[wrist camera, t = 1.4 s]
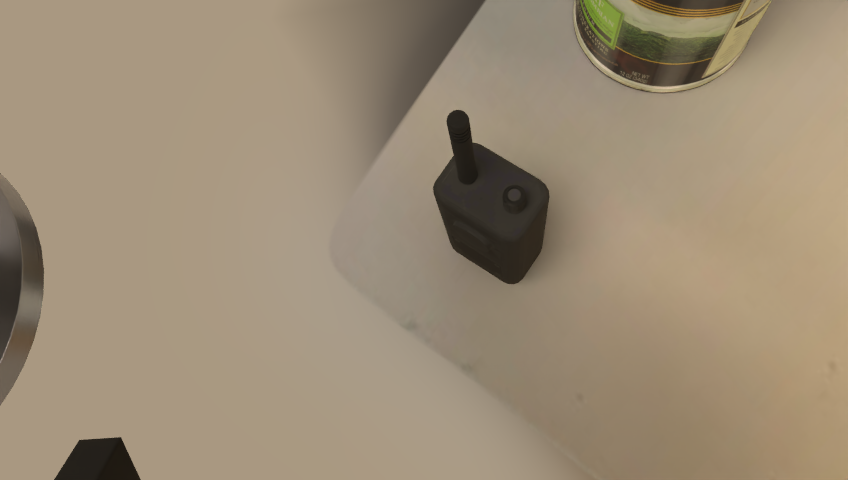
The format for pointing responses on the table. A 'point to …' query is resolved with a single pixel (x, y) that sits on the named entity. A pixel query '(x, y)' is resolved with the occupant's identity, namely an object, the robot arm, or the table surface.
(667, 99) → the table surface
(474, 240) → the walkie-talkie
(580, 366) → the table surface
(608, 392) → the table surface
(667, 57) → the coffee can
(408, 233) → the table surface
